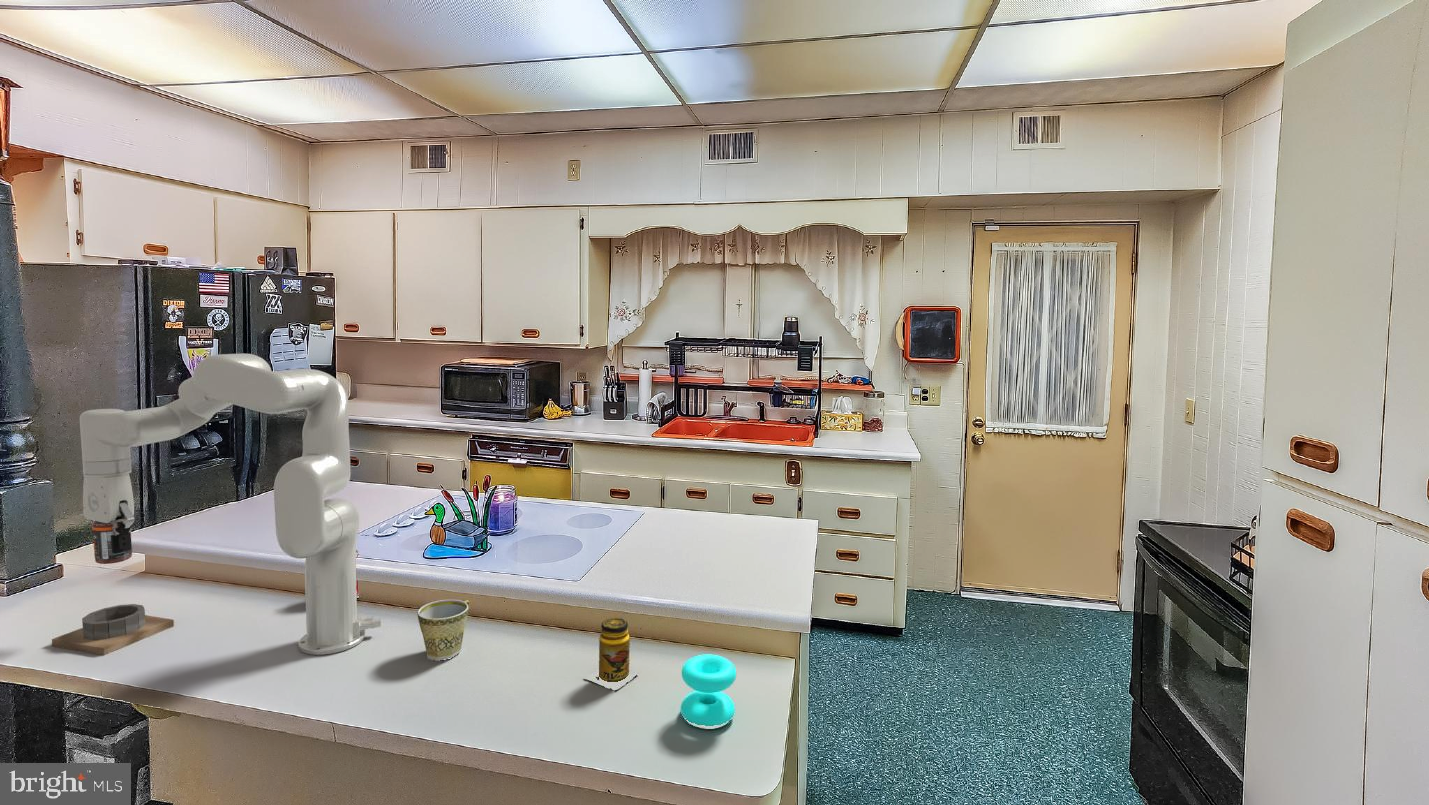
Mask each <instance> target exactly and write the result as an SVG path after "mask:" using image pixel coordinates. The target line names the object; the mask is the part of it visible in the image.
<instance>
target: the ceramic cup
mask: <svg viewBox="0 0 1429 805" xmlns="http://www.w3.org/2000/svg"><path fill="white" fill-rule="evenodd" d="M470 606H471V605H470V600H468V599H462V600H459V599H442V600H436V601H431V602H428V603H426V604H424V605H422V606H421V607H420V608H419V609H418V610H417V618H418V619H417V620H418V624H419V627H420V630H421V634H422V638H423V642H424V646H425V653H426V657H427V659H428V660H429V659H431V660H430V661H433V660H435V661H434V662H437V661H439V662H441V661H440V660H444V659H448V658H452V657H453V656H455V655H457V654H458V653H461V650H462V645H463V644H462V643H463V638H464V633H465V629H466V628H465V627H466V625H467V624H466V623H467V618H468V614H469V609H470ZM458 655H459V654H458ZM458 655H457V656H458ZM455 657H456V656H455ZM452 659H453V658H452ZM444 661H445V660H444Z"/></svg>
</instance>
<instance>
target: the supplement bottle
mask: <svg viewBox="0 0 1429 805" xmlns="http://www.w3.org/2000/svg"><path fill="white" fill-rule="evenodd" d="M118 519H123V517H122V516H121V517H116V519H115V520H118ZM121 523H123V522H120V523H117V527H119V525H120V524H121ZM92 527H93V529H92V538H93V550H94V554H93V555H94V562H95V563H97V564H99V565H107V564H108V565H112V564H117V563H121V562H124V561H127V560H129V559H131V558H132V556H133V548H132V549H131V550H129V551H125V552H120V553H116V554H114V553H112V545H111V535H113V531H112V528H111V524H110V523H101V522H97V521H94V523H93V525H92V524H91V528H92ZM131 545H132V543H131ZM132 546H133V545H132Z"/></svg>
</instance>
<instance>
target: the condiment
mask: <svg viewBox="0 0 1429 805" xmlns="http://www.w3.org/2000/svg"><path fill="white" fill-rule="evenodd" d="M600 626H601V630H600V635H599V639H598V644H599V646H598V651H599V652H598V654H599V655H598V669H599V677H600V678H601V679H602V680H604V681H607V682H618V681H621V680H623V679H625V678H626V677H627V676H628V675H629V672H630V661H631V660H630V653H631V652H630V647H631V646H630V644H631V643H630V640H631V637H630V634H629V629H628V628H629V623H628V621H627V620H626V619H624V618H622V617H609V618H607V619H605V620H603V621H602V623H601V625H600Z"/></svg>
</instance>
